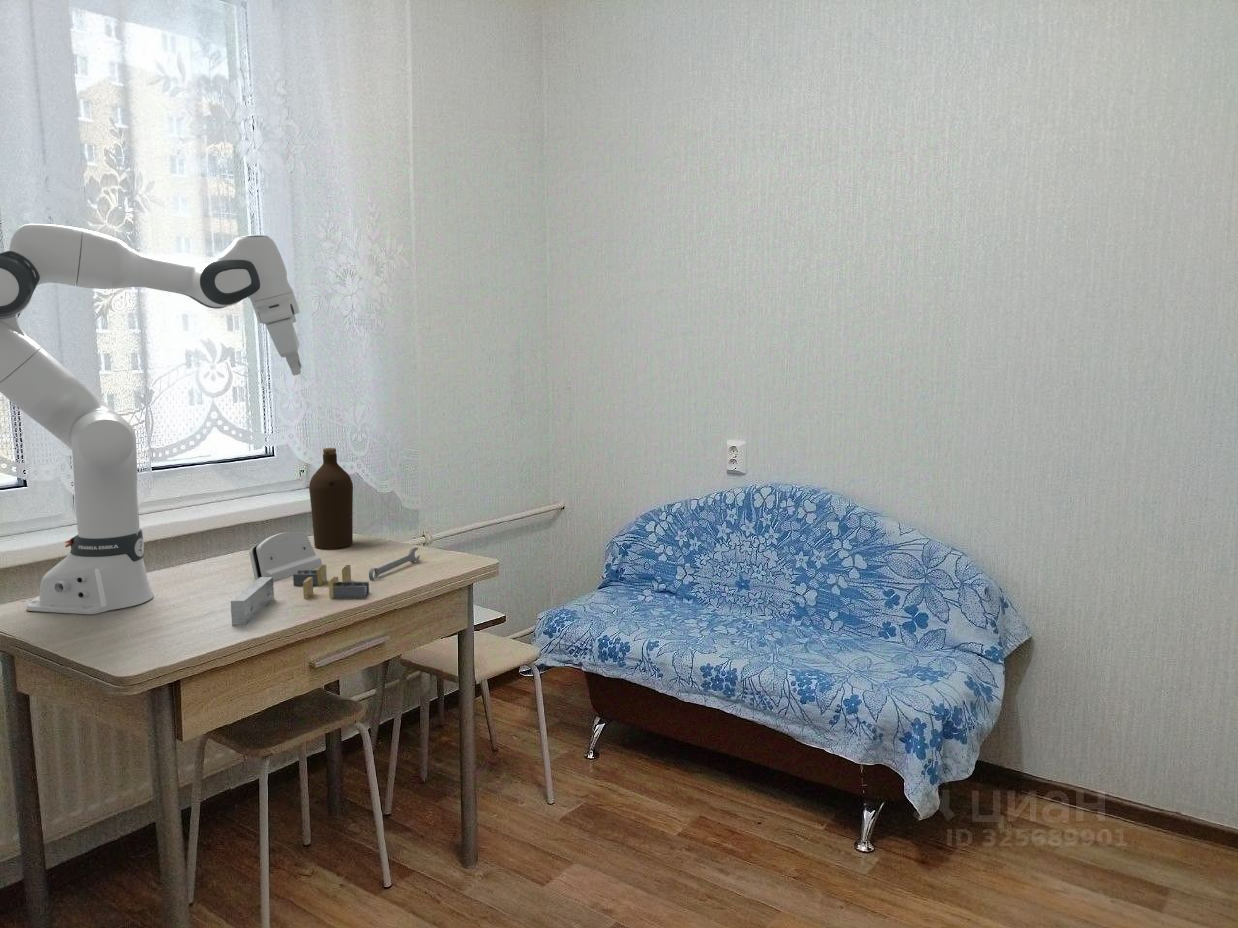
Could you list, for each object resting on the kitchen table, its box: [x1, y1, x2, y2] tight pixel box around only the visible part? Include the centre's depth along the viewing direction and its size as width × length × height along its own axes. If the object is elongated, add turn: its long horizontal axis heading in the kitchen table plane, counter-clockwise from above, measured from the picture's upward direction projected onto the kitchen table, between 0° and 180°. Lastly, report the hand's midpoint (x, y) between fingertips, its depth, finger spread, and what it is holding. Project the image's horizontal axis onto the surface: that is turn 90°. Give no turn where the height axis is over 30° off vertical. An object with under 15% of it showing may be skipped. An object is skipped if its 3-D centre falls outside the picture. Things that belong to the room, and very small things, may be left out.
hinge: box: [249, 531, 323, 582], centre depth 215 cm, size 17×5×10 cm, turn 156°
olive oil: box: [308, 447, 354, 550], centre depth 240 cm, size 11×11×25 cm
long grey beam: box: [230, 576, 275, 627], centre depth 185 cm, size 3×17×5 cm, turn 3°
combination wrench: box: [368, 546, 421, 581], centre depth 217 cm, size 4×1×20 cm
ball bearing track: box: [292, 564, 370, 599], centre depth 201 cm, size 18×14×4 cm
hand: (297, 372), depth 206 cm, fingers open, 8 cm apart
